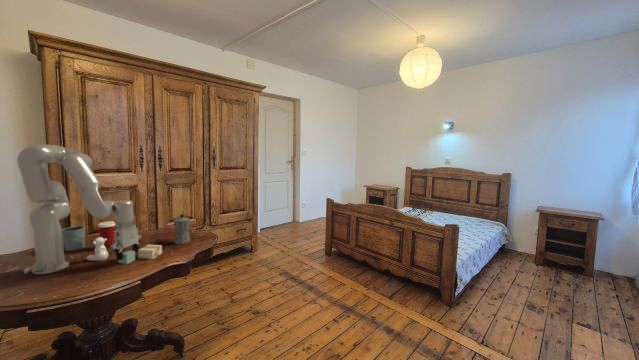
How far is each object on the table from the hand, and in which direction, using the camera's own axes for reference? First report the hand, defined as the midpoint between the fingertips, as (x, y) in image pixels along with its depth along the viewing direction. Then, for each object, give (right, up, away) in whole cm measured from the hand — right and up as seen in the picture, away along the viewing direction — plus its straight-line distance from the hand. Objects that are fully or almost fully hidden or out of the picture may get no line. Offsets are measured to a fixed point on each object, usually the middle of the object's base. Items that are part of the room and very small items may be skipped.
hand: (128, 255), depth 138 cm
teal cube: (-1, -3, 0) cm, 3 cm away
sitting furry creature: (-16, -3, +2) cm, 17 cm away
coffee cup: (-25, -1, +18) cm, 31 cm away
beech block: (+7, -3, +8) cm, 11 cm away
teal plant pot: (-43, 0, +16) cm, 45 cm away
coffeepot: (+12, 0, +31) cm, 34 cm away
